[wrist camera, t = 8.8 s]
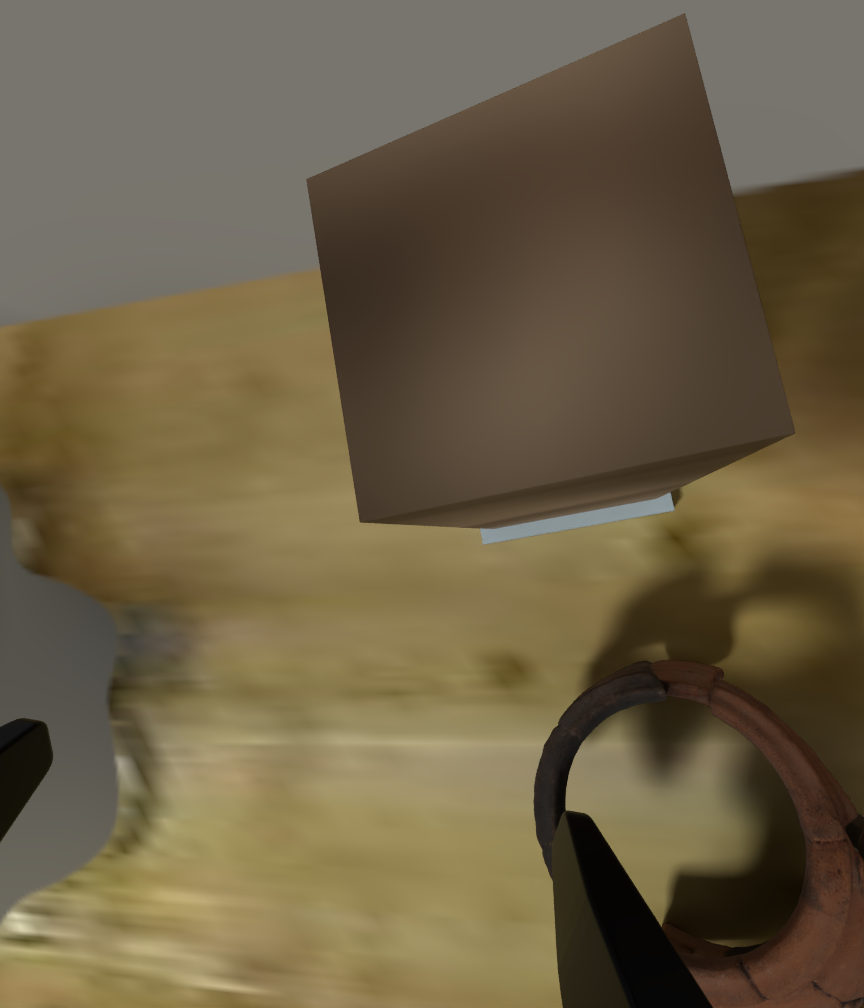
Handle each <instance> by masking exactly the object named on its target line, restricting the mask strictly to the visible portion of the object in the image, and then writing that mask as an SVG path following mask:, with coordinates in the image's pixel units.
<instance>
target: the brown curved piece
mask: <svg viewBox="0 0 864 1008" xmlns="http://www.w3.org/2000/svg"><path fill="white" fill-rule="evenodd" d="M723 677H724V672H723V670H722V669H720V668H718V667H715V666H711V665H706V664H701V663H694V662H688V661H677V660H661V661H658V662H655V663H651V662H648V661H642V662H637V663H634V664H632V665H630V666H628V667H625V668H623V669H621V670H618V671H616V672H614V673H613V674H611V675H609V676H607V677H605V678H603V679H601V680H600V681H599V682H597V683H595V684H594V685H592V686H591V687H590V688H588V689H587V690H586V691H585V692H583V693H582V694H581V695H580V696H579V697H578V698H577V699H576V700H575V701H574V702H573V703H572V704H571V705H570V706H569V708H568V709H567V710H566V711H565V712H564V714H563V715H562V716H561V718H560V720H559V722H558V726H557V727H555V728H554V729H553V731H552V733H551V735H550V737H549V738H548V740H547V741H546V743H545V745H544V748H543V753H542V756H541V759H540V762H539V766H538V769H537V772H536V778H535V785H534V816H535V822H536V835H537V839H538V842H539V844H540V846H541V847H542V850H543V852H542V854H543V858H544V861H545V864H546V866H547V868H548V871H549V874H550V877H551V878H552V880H553V874H552V844H553V840H554V837H555V834H556V831H557V828H558V825H559V822H560V819H561V816H562V814H563V812H565V811H566V809H565V797H566V786H567V780H568V775H569V771H570V768H571V765H572V762H573V759H574V757H575V755H576V753H577V751H578V749H579V747H580V745H581V743H582V742H583V741H584V740H585V739H586V737H587V736H588V735H589V734H590V733H591V732H592V731H593V730H594V729H595V728H596V727H597V726H598V725H599V724H600V723H601V722H602V721H604V720H605V719H606V718H608V717H609V716H611V715H613V714H614V713H616V712H618V711H620V710H623V709H627V708H629V707H632V706H635V705H639V704H643V703H653V702H661V701H664V700H666V699H667V695H668V696H675V697H679V698H685V699H690V700H694V701H697V702H700V703H702V704H705V705H707V706H709V707H710V710H711V712H712V713H713V715H714V716H715V717H717V718H719V719H720V720H722V721H724V722H725V723H726V724H728V725H729V726H731V727H733V728H734V729H736V730H737V731H739V732H740V733H741V734H742V735H744V736H745V737H746V738H747V739H748V740H750V741H751V742H752V743H753V744H754V745H755V746H756V747H757V748H758V749H759V750H760V751H761V752H762V753H763V755H764V756H765V757H766V758H767V759H768V761H769V762H770V763H771V764H772V766H773V767H774V769H775V770H776V772H777V773H778V775H779V776H780V778H781V779H782V781H783V782H784V784H785V786H786V788H787V790H788V792H789V794H790V796H791V798H792V800H793V803H794V805H795V808H796V810H797V813H798V818H799V822H800V826H801V829H802V831H803V834H804V836H805V845H806V868H805V875H804V881H803V886H802V891H801V895H800V898H799V901H798V904H797V906H796V908H795V910H794V912H793V913H792V915H791V916H790V918H789V919H788V921H787V922H786V924H785V925H784V926H783V927H782V929H781V930H780V931H779V932H778V933H777V934H776V935H775V936H774V937H773V938H771V939H770V940H768V941H766V942H764V943H762V944H759V945H754V946H748V947H734V948H731V947H728V946H723V945H719V944H715V943H711V942H708V941H705V940H702V939H699V938H696V937H693V936H691V935H689V934H687V933H685V932H683V931H681V930H679V929H677V928H675V927H674V926H672V925H670V924H667V923H665V924H663V925H662V929H663V930H664V932H665V933H666V935H667V936H668V938H669V940H670V941H671V943H672V944H673V946H674V947H675V949H676V950H677V952H678V954H679V955H680V957H681V958H682V960H683V961H684V963H685V964H686V966H687V968H688V969H689V971H690V972H691V974H692V975H693V977H694V978H695V980H696V982H697V983H698V985H699V986H700V988H701V989H702V991H703V992H704V994H705V996H706V997H707V999H708V1000H709V1002H710V1003H711V1005H712V1006H713V1008H860V1007H861V1006H862V1005H863V1003H864V817H863V816H861V815H859V814H858V813H857V812H856V810H855V807H854V805H853V803H852V802H851V800H850V799H849V797H848V796H847V795H846V793H845V792H844V791H843V789H842V788H841V786H840V784H839V783H838V782H837V781H836V779H835V778H834V777H833V775H832V774H831V773H830V772H829V771H828V770H827V768H826V767H825V766H824V765H823V763H822V762H821V761H820V759H819V758H818V756H817V755H816V754H815V753H814V751H813V750H812V749H811V748H810V747H809V746H808V745H807V744H806V743H805V742H804V741H803V740H802V739H801V738H800V737H799V736H798V735H797V734H796V733H795V732H794V731H793V730H792V729H791V728H790V727H789V726H788V725H787V724H785V723H784V722H783V721H782V720H781V719H780V718H779V717H778V716H777V715H776V714H774V713H773V712H772V711H771V710H770V709H769V708H768V707H767V706H766V705H764V704H763V703H761V702H760V701H759V700H757V699H756V698H754V697H753V696H751V695H750V694H748V693H746V692H744V691H743V690H741V689H739V688H738V687H736V686H734V685H731V684H729V683H728V682H725V681H723V680H722V679H723Z"/></svg>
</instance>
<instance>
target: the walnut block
mask: <svg viewBox="0 0 864 1008" xmlns="http://www.w3.org/2000/svg"><path fill="white" fill-rule="evenodd" d="M307 186H308V193H309V199H310V205H311V212H312V218H313V225H314V231H315V237H316V244H317V250H318V257H319V263H320V270H321V276H322V282H323V289H324V295H325V302H326V308H327V314H328V321H329V327H330V334H331V340H332V347H333V353H334V359H335V366H336V372H337V379H338V385H339V391H340V398H341V404H342V411H343V417H344V423H345V430H346V436H347V443H348V449H349V456H350V462H351V468H352V475H353V481H354V488H355V494H356V500H357V507H358V513H359V520H360V522H362V523H382V524H401V525H421V526H441V527H461V528H481V529H497V528H502V527H507V526H513V525H518V524H523V523H529V522H534V521H540V520H545V519H550V518H556V517H561V516H567V515H572V514H577V513H583V512H588V511H594V510H599V509H604V508H610V507H615V506H621V505H626V504H631V503H637V502H642V501H648V500H653V499H657V498H659V497H661V496H664V495H666V494H668V493H670V492H672V491H674V490H676V489H678V488H680V487H683V486H685V485H687V484H689V483H691V482H693V481H695V480H697V479H699V478H701V477H704V476H706V475H708V474H710V473H712V472H714V471H716V470H718V469H720V468H723V467H725V466H727V465H729V464H731V463H733V462H735V461H737V460H739V459H742V458H744V457H746V456H748V455H750V454H752V453H754V452H756V451H758V450H761V449H763V448H765V447H767V446H769V445H771V444H773V443H775V442H777V441H780V440H782V439H784V438H786V437H788V436H790V435H792V434H794V433H795V429H794V426H793V422H792V418H791V414H790V410H789V407H788V403H787V399H786V395H785V391H784V388H783V384H782V380H781V376H780V372H779V369H778V365H777V361H776V357H775V353H774V350H773V346H772V342H771V338H770V334H769V331H768V327H767V323H766V319H765V315H764V312H763V308H762V304H761V300H760V296H759V293H758V289H757V285H756V281H755V277H754V274H753V270H752V266H751V262H750V258H749V255H748V251H747V247H746V243H745V239H744V236H743V232H742V228H741V224H740V220H739V217H738V213H737V209H736V205H735V201H734V198H733V194H732V190H731V186H730V182H729V179H728V175H727V171H726V167H725V164H724V160H723V156H722V152H721V148H720V144H719V141H718V137H717V133H716V129H715V126H714V122H713V118H712V114H711V111H710V106H709V103H708V99H707V95H706V91H705V87H704V84H703V80H702V76H701V72H700V68H699V65H698V61H697V57H696V53H695V49H694V46H693V42H692V38H691V34H690V31H689V27H688V23H687V19H686V15H685V14H682V15H680V16H678V17H675V18H673V19H671V20H669V21H667V22H664V23H662V24H659V25H657V26H655V27H653V28H651V29H648V30H646V31H643V32H641V33H639V34H637V35H634V36H632V37H630V38H627V39H625V40H623V41H621V42H618V43H616V44H614V45H612V46H609V47H607V48H605V49H603V50H600V51H598V52H596V53H594V54H591V55H589V56H586V57H584V58H582V59H580V60H578V61H575V62H573V63H570V64H568V65H566V66H564V67H561V68H559V69H557V70H555V71H552V72H550V73H548V74H545V75H543V76H541V77H539V78H536V79H534V80H532V81H529V82H527V83H525V84H523V85H520V86H519V87H516V88H513V89H511V90H509V91H507V92H505V93H502V94H500V95H498V96H495V97H493V98H491V99H489V100H486V101H484V102H482V103H479V104H477V105H475V106H473V107H470V108H468V109H466V110H464V111H461V112H459V113H456V114H454V115H452V116H450V117H447V118H445V119H443V120H441V121H438V122H436V123H434V124H431V125H429V126H427V127H425V128H422V129H420V130H418V131H415V132H413V133H411V134H409V135H406V136H404V137H402V138H399V139H397V140H395V141H393V142H390V143H388V144H386V145H384V146H381V147H379V148H377V149H374V150H372V151H370V152H368V153H365V154H363V155H361V156H358V157H356V158H354V159H352V160H349V161H347V162H345V163H343V164H340V165H338V166H336V167H333V168H331V169H329V170H327V171H324V172H322V173H320V174H317V175H315V176H313V177H311V178H308V179H307Z"/></svg>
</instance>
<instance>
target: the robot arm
mask: <svg viewBox="0 0 864 1008" xmlns="http://www.w3.org/2000/svg"><path fill="white" fill-rule="evenodd" d="M52 761H53V751H52V746H51V742H50V736H49V731H48V727H47V725H46V724H45V723H44V722H42V721H38V720H32V719H26V718H21V719H16V720H14V721H12V722H9V723H7V724H5V725H3V726H1V727H0V842H1V841H2V839H3V838H4V836H5V835H6V833H7V832H8V830H9V829H10V827H11V826H12V824H13V823H14V821H15V820H16V818H17V817H18V815H19V814H20V812H21V811H22V809H23V808H24V806H25V805H26V803H27V802H28V800H29V799H30V798H31V796H32V794H33V793H34V791H35V790H36V789H37V787H38V786H39V784H40V782H41V781H42V780H43V778H44V777H45V775H46V774H47V772H48V770H49V768H50V766H51V764H52ZM552 874H553V893H554V911H555V930H556V948H557V963H558V974H559V983H560V991H561V998H562V1005H563V1008H713V1006H712V1005H711V1003H710V1002H709V1000H708V999H707V997H706V996H705V994H704V992H703V991H702V989H701V988H700V986H699V985H698V983H697V982H696V980H695V978H694V977H693V975H692V974H691V972H690V971H689V969H688V968H687V966H686V964H685V963H684V961H683V960H682V958H681V957H680V955H679V954H678V952H677V950H676V949H675V947H674V946H673V944H672V943H671V941H670V940H669V938H668V936H667V935H666V933H665V932H664V930H663V929H662V927H661V926H660V924H659V922H658V921H657V919H656V918H655V916H654V915H653V913H652V912H651V910H650V908H649V907H648V905H647V904H646V902H645V901H644V899H643V898H642V896H641V894H640V893H639V891H638V890H637V888H636V887H635V885H634V884H633V882H632V880H631V879H630V877H629V876H628V874H627V873H626V871H625V870H624V868H623V866H622V865H621V863H620V862H619V860H618V859H617V857H616V856H615V854H614V852H613V851H612V849H611V848H610V846H609V845H608V843H607V842H606V840H605V838H604V837H603V835H602V834H601V832H600V831H599V829H598V827H597V826H596V824H595V823H594V821H593V820H592V818H591V817H590V816H588V815H587V814H585V813H580V812H574V811H565V812H563V814H562V816H561V819H560V822H559V825H558V828H557V831H556V834H555V837H554V840H553V844H552Z"/></svg>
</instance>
